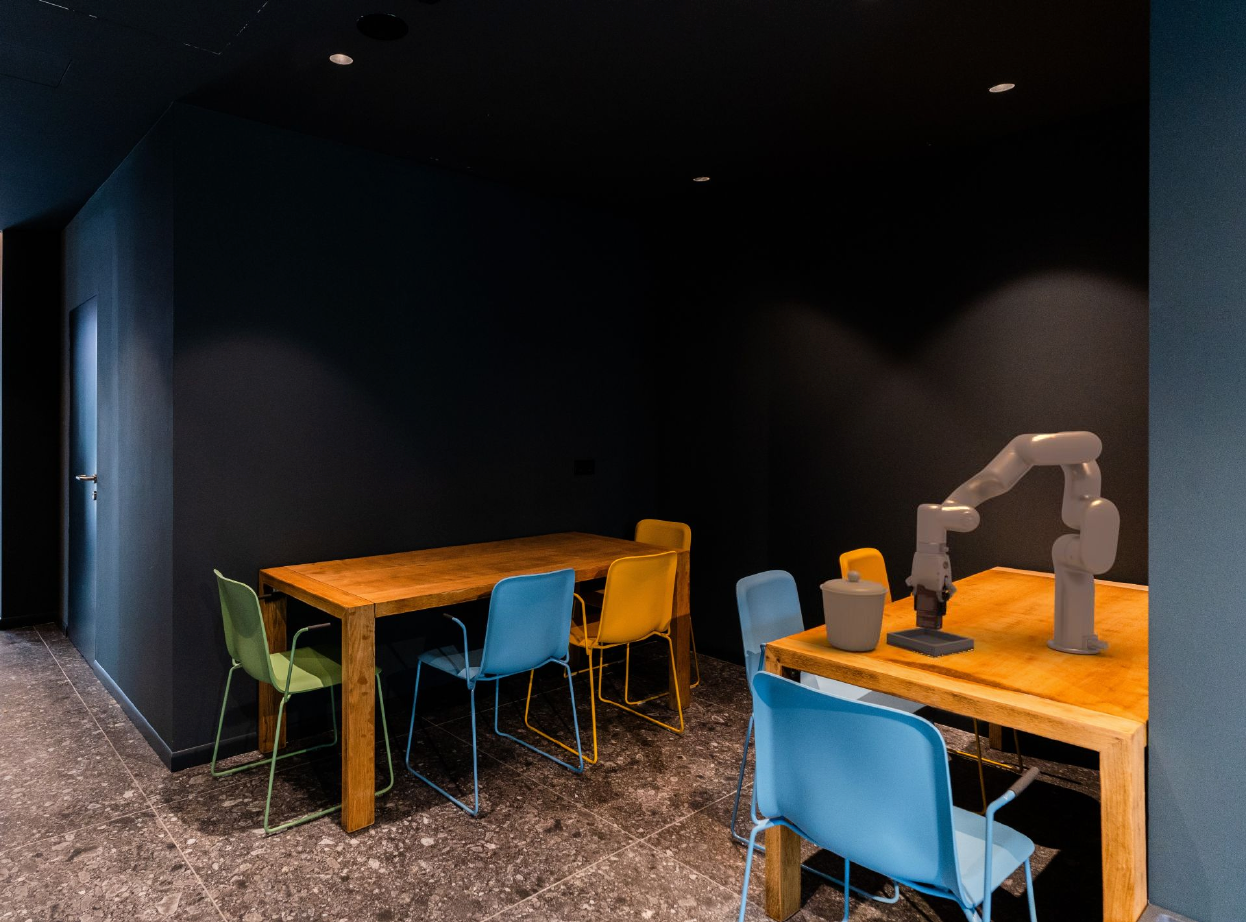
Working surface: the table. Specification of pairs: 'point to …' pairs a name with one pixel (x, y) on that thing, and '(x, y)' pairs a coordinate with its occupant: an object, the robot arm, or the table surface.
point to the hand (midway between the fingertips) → (929, 612)
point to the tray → (930, 641)
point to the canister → (853, 612)
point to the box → (927, 609)
